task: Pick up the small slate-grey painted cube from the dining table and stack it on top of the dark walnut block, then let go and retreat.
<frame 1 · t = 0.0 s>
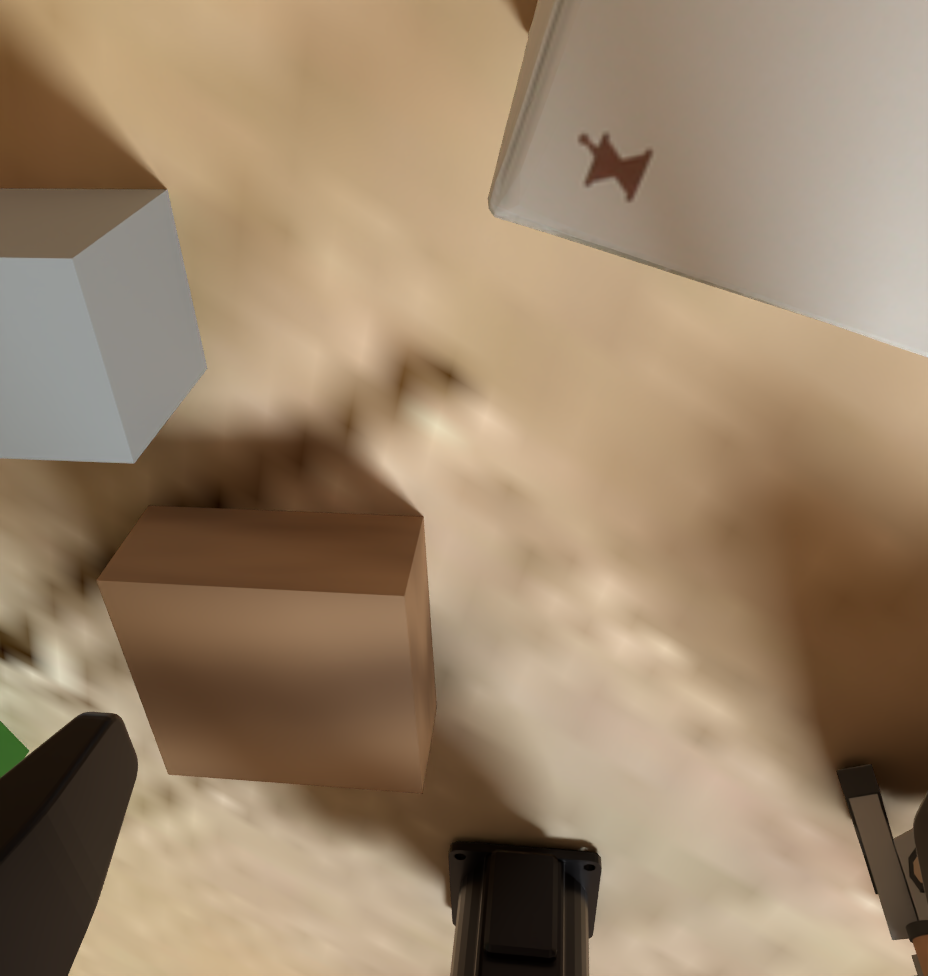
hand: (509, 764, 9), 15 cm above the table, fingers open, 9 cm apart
slate cube: (101, 282, 23), on the table
walnut block: (305, 607, 29), on the table
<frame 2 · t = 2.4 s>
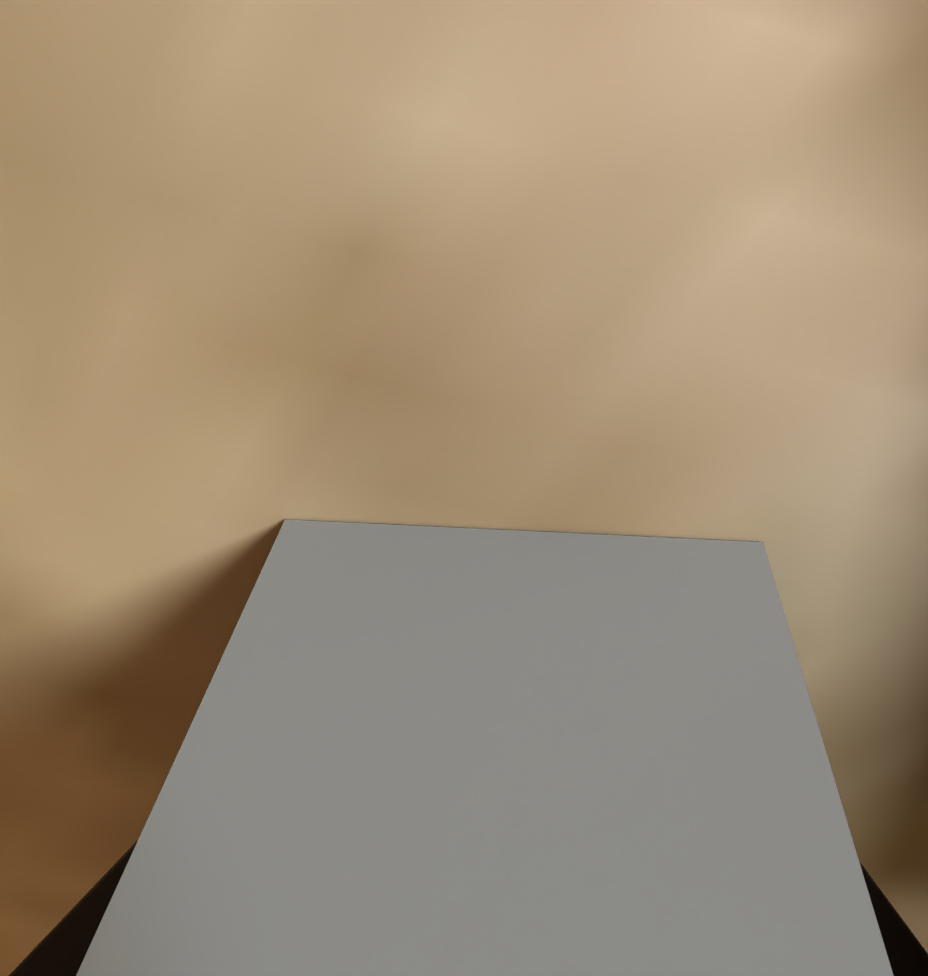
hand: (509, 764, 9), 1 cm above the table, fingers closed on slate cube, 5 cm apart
slate cube: (513, 691, 10), on the table, touching gripper
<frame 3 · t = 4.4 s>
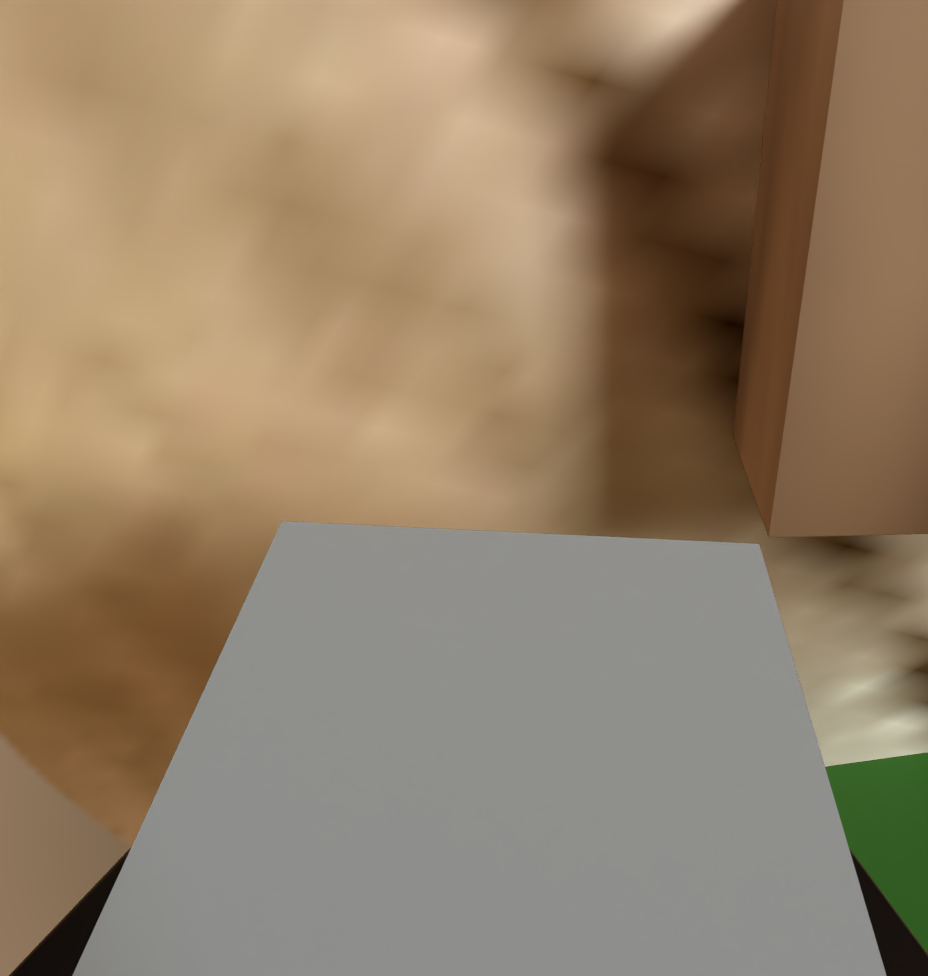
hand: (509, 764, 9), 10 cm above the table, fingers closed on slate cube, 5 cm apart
slate cube: (511, 693, 10), point 9 cm above the table, touching gripper
hardback book: (846, 831, 27), on the table
when the fingers open (5 cm above the table, at t = 6.4 s): slate cube stays where it is, resting on walnut block.
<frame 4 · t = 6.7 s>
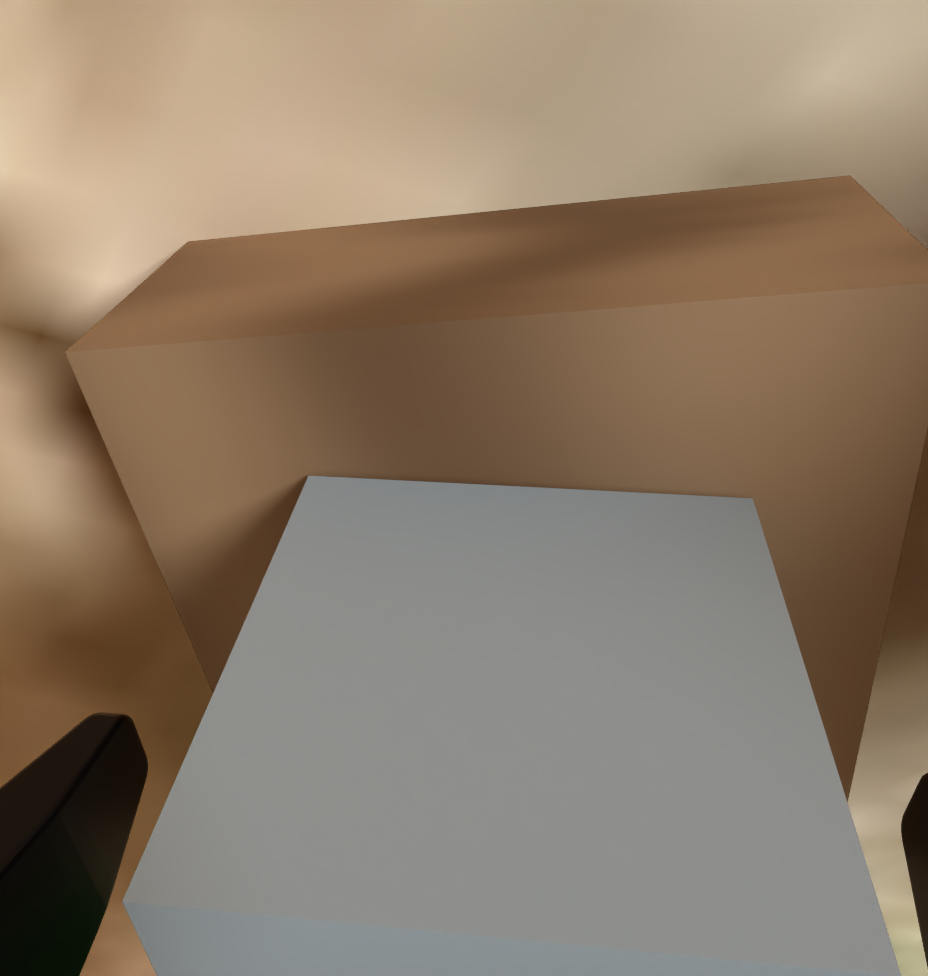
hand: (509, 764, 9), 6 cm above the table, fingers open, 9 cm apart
slate cube: (518, 643, 11), point 4 cm above the table, touching walnut block
walnut block: (527, 470, 14), on the table, touching slate cube
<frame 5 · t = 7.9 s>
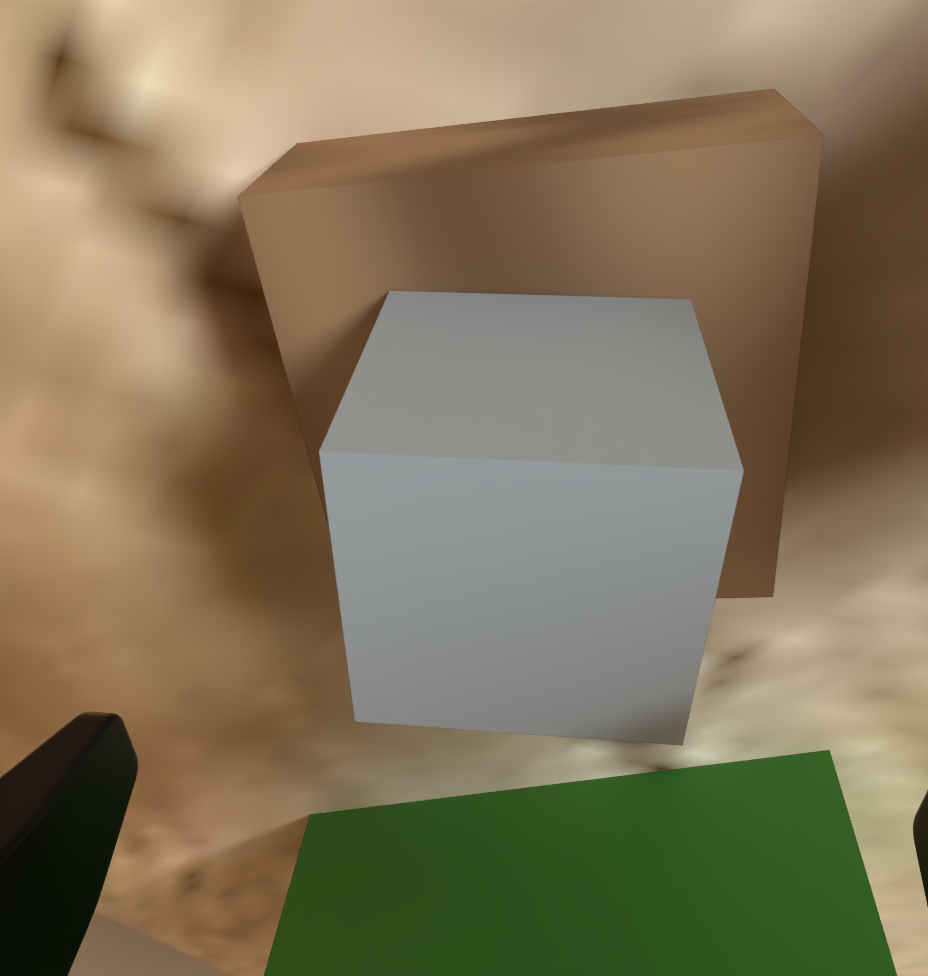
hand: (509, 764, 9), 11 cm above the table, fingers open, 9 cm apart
slate cube: (532, 423, 15), point 4 cm above the table, touching walnut block
walnut block: (542, 329, 19), on the table, touching slate cube
hardback book: (576, 843, 30), on the table
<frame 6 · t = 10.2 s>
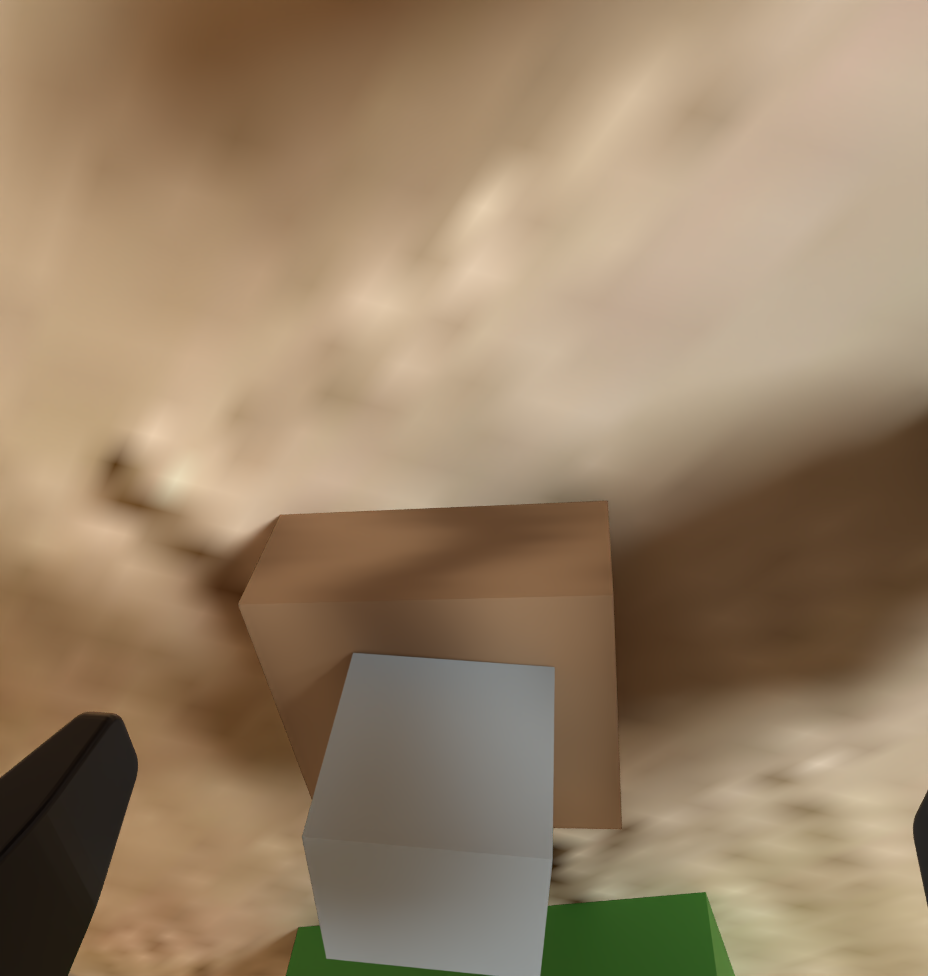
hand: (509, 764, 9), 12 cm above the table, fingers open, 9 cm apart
slate cube: (453, 725, 22), point 4 cm above the table
walnut block: (461, 620, 25), on the table
hardback book: (515, 951, 36), on the table
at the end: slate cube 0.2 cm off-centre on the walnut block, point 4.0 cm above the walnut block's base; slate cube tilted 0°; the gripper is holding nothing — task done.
